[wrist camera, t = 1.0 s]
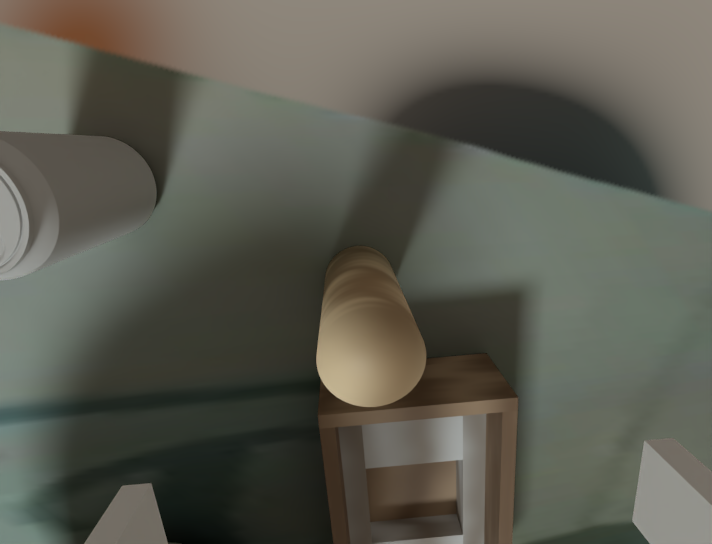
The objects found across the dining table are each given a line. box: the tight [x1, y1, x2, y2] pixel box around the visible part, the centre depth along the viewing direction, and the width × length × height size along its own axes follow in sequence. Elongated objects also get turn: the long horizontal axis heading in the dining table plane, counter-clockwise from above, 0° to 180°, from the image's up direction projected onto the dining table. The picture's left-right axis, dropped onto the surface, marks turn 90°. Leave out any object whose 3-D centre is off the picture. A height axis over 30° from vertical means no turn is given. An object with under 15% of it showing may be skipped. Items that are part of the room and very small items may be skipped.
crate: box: [318, 353, 518, 544], centre depth 32 cm, size 13×22×6 cm, turn 4°
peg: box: [316, 246, 426, 407], centre depth 24 cm, size 5×5×12 cm
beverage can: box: [0, 131, 157, 280], centre depth 22 cm, size 6×6×12 cm
